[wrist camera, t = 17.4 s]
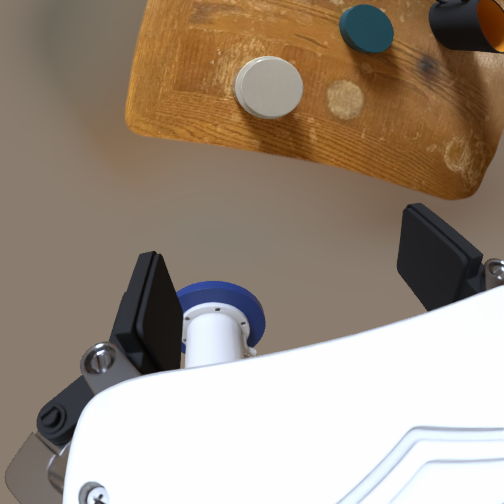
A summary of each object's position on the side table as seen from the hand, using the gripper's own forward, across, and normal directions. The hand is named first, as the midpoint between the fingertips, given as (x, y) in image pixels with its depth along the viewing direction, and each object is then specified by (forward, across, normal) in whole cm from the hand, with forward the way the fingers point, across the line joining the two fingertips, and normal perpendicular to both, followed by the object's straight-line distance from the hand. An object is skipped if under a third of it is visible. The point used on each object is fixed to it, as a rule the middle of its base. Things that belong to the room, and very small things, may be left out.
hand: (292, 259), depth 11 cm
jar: (+28, -3, -5) cm, 29 cm away
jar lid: (+27, -18, -13) cm, 35 cm away
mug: (+28, -33, -17) cm, 47 cm away
